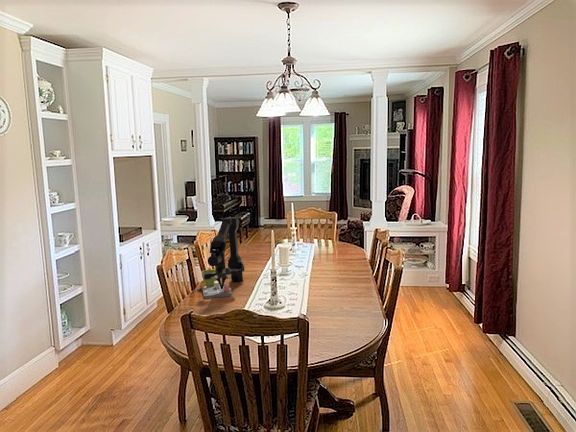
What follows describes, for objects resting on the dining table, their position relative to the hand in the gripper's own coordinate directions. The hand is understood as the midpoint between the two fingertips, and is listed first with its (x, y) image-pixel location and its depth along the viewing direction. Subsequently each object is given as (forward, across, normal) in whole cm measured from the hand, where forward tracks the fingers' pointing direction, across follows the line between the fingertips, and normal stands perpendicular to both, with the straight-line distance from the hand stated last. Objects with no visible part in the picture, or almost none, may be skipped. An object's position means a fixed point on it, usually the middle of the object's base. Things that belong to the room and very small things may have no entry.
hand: (221, 289), depth 253 cm
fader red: (+1, +2, 0) cm, 3 cm away
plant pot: (+3, -5, +20) cm, 21 cm away
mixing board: (+3, -3, +4) cm, 6 cm away
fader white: (+1, -2, +9) cm, 9 cm away
